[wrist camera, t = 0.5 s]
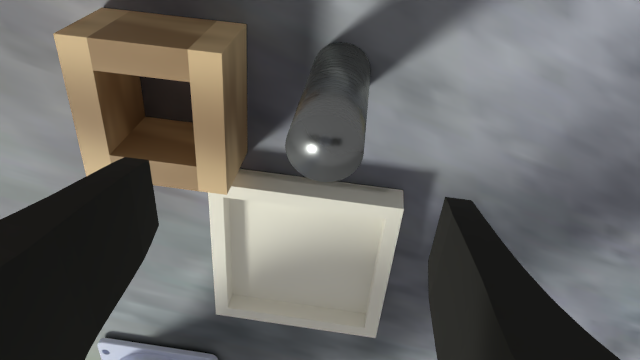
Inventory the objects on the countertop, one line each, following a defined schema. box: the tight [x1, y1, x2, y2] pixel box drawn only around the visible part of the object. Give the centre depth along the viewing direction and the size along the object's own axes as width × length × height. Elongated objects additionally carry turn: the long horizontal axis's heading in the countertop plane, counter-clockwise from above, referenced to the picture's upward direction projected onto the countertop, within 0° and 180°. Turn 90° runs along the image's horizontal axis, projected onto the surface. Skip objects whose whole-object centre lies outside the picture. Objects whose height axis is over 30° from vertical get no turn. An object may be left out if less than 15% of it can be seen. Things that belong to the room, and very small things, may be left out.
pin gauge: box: [285, 42, 371, 182], centre depth 18 cm, size 2×2×6 cm
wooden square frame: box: [54, 8, 247, 195], centre depth 20 cm, size 6×6×4 cm
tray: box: [208, 169, 404, 338], centre depth 25 cm, size 9×9×2 cm
